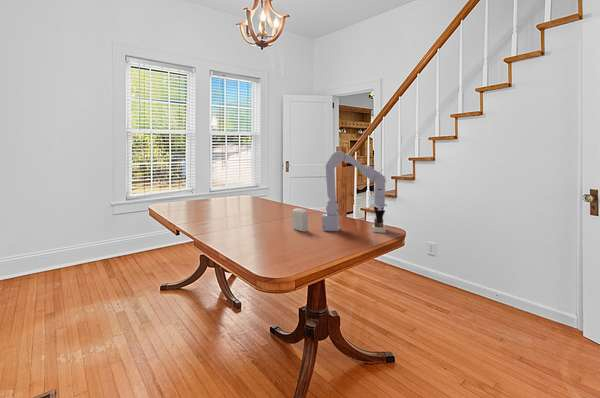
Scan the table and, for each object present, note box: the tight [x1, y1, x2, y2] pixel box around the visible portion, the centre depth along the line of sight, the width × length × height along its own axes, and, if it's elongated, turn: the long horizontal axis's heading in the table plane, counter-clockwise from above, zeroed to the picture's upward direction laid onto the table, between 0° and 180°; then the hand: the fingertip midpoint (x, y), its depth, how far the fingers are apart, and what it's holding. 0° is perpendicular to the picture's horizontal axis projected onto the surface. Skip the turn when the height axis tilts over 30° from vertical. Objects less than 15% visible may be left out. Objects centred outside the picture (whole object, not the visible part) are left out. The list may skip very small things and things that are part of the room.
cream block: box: [371, 223, 387, 233], centre depth 179 cm, size 7×7×3 cm
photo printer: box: [291, 207, 309, 233], centre depth 183 cm, size 10×4×12 cm, turn 40°
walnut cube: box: [373, 217, 384, 227], centre depth 178 cm, size 4×4×4 cm
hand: (378, 221), depth 178 cm, fingers open, 7 cm apart
